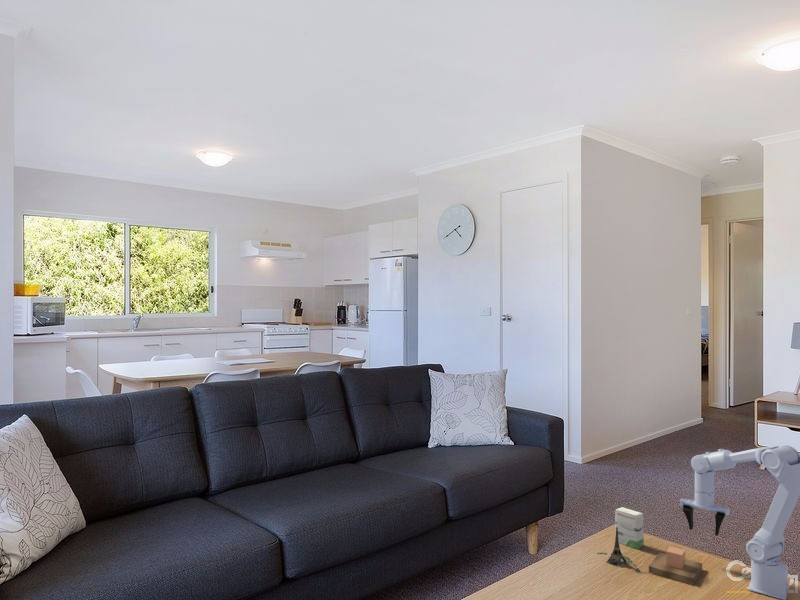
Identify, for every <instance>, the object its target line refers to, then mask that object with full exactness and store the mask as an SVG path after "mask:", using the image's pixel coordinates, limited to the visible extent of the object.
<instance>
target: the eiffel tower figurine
mask: <svg viewBox="0 0 800 600" xmlns="http://www.w3.org/2000/svg"><path fill="white" fill-rule="evenodd" d="M614 540H615V541H614V546H613V550H612V553H610V556H609V558H608V559H607V561H605V564H608V565H611V566H615V567H618V568H620V569H622V568H623V567H625V566H626V565H627V564H628V565H631V566H634V567H636V569H635V570H634V572H635V573H637V574H643V572H642V571H641V570H640V569H639V568H638V567H637V565H635V563H634V562H633V561H632V560H631V558H630V557H628V556H625V555H623V553H622V551H621V549H620V548H621V547H620V543H619V541H618V527H616V538H615V539H614ZM596 554H597V555H608V552H596Z"/></svg>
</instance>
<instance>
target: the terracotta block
mask: <svg viewBox="0 0 800 600" xmlns="http://www.w3.org/2000/svg"><path fill="white" fill-rule="evenodd" d="M665 554H666V565H667V566H671V567H675V568H679V569H683V567H684V565H685V559H686V550H685V549H681V548H677V547H674V546H669V547H668V548H667V549H666V552H665Z"/></svg>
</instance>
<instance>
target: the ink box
mask: <svg viewBox="0 0 800 600" xmlns="http://www.w3.org/2000/svg"><path fill="white" fill-rule="evenodd" d="M614 513H615V515H614V518H615V519H614V523H615V525H614V526H615V538H616V527H618V541H619V544H622V545H625V546H627V547H630V548H633V549H636V550H638V549H641V548H642V547H644V545H645V544H644V543H645V542H644V541H645V540H644V513H643V512H640V511H637V510H633V509H629V508H627V507H622V506H621V507H619V508H616V509H614Z"/></svg>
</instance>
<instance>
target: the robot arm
mask: <svg viewBox="0 0 800 600" xmlns="http://www.w3.org/2000/svg"><path fill="white" fill-rule="evenodd" d="M753 461H754V462H755V461H756V462H757V464H759V465H763V466H764V468H765V469H766V470H767V471H768V472H769V473H770V475H772V476H773V477H774V478H775V480H776V481H777V482H778V483H779V485H778V487H777V490H776V492H775V495H774V497H773V499H772V502H771V504H770V507H769V509H768V511H767V513H766V516H765V519H764V520H763V523H762V526H761V528H759V530H758V531H757V532H755V533H754V535H753V537H752V538H751V539H749V540H748V541H747V542H746V545H745V549H746V553H747V555H748V556H749V557H750V581H749V584H748V587H747V590H748V591H749V592H750V591H751V592H754V593H757V594H761V595H765V596H769V597H773V598H776V599H779V600H787V596H788V591H789V584H788V583H789V569H788V568H789V566H788V564H785V563H782V562H781V561H780V560H781V557H782V555H783V554H784V553H785V540H786V538H785V536H784V535H783V534H784V532H785V530H786V528H787V525H788V522H789V520H790V518H791V516H792V513H794V512H793V511H794V510H795V507H796V504H797V502H798V500H799V497H800V453H799V452H798V450H797V449H795V447H793V446H791V445H783V446H781V447H780V446H779V445H773V446H763V447H757V448H756V447H755V448H751V449H747V450H742V451H737V452H733V451H732V450H729V449H725V448H719V449H717V451H713V452H711V451H706V452H705V453H702V454H696V455H694V456H693V457H692V458H691V460H690V466H691V469H692V470H694V499H688V498H687V499H686V498H680V499H679V506H680V507H682V511H683V513H684V515H685V518H686V520H687V522H688V529H689V530H690V531H692V530H693V529H694V509H699V510H703V511H708V512H712V513H715V515H714V519H715V520H714V521H715V528H714V529H715V532H714V535H715V536H717V537H718V536H719V535H720V530H721V526H722V523H723V521H724V519H725V517H726V516H729V515H730V514H731V513H730V511H731V510H730V507H726V506H723V505H720V504H716V503H715V475H716V471H724V470H729V469H730V470H731V469H734V468H735V467H736V465H737V464H738V463H746V462H747V463H748V462H753ZM780 556H781V557H780Z"/></svg>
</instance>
